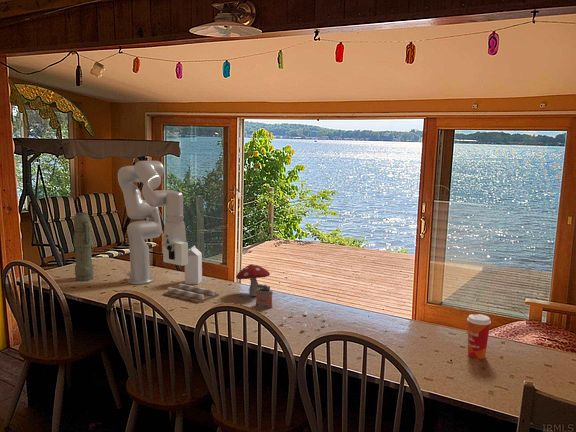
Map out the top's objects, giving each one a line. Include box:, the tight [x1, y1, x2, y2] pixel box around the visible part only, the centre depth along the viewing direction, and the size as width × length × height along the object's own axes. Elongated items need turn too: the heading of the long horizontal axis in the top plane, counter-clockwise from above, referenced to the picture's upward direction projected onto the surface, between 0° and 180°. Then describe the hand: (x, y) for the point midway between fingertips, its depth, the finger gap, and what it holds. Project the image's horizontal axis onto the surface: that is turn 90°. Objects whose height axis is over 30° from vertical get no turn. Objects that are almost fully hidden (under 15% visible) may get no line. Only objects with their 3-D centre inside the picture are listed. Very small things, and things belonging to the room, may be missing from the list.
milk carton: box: [184, 245, 203, 285], centre depth 257 cm, size 7×7×19 cm
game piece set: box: [280, 309, 329, 332], centre depth 203 cm, size 19×20×4 cm
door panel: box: [162, 240, 189, 267], centre depth 230 cm, size 12×4×10 cm, turn 56°
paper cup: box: [466, 313, 492, 360], centre depth 172 cm, size 8×8×14 cm
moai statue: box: [72, 212, 94, 282], centre depth 261 cm, size 9×12×35 cm
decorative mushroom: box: [235, 263, 271, 297], centre depth 238 cm, size 16×16×15 cm
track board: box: [163, 283, 219, 304], centre depth 237 cm, size 22×14×3 cm, turn 58°
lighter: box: [255, 283, 273, 310], centre depth 222 cm, size 8×3×10 cm, turn 65°
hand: (175, 257), depth 230 cm, fingers closed on door panel, 4 cm apart
